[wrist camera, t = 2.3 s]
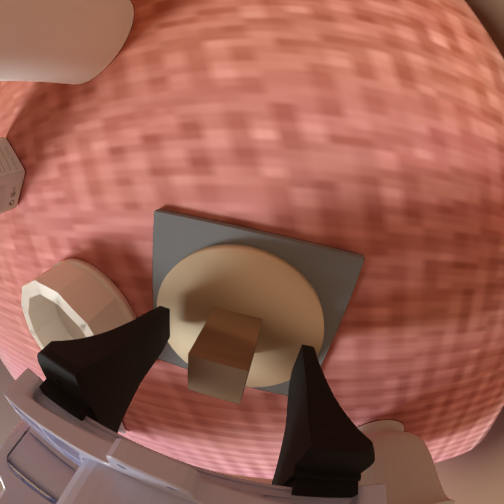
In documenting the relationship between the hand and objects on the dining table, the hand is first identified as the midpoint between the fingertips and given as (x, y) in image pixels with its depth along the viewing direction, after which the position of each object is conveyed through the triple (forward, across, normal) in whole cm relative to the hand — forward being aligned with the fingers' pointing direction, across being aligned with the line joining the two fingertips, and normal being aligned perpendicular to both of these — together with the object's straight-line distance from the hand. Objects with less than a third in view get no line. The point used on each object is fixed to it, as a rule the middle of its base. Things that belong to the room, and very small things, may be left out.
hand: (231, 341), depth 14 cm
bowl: (+2, +12, +4) cm, 13 cm away
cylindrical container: (+2, +13, -16) cm, 21 cm away
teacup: (+2, -13, +10) cm, 16 cm away
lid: (+2, 0, 0) cm, 2 cm away
